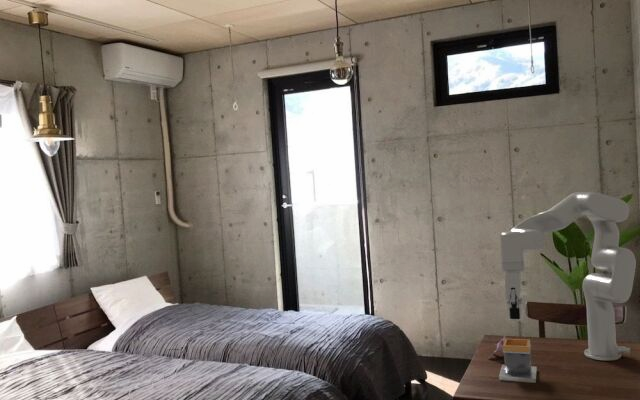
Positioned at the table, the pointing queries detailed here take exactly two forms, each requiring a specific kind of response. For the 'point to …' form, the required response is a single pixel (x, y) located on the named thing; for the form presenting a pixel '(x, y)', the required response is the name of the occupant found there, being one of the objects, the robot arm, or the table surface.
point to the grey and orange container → (517, 361)
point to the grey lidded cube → (520, 306)
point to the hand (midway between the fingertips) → (515, 316)
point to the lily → (499, 345)
